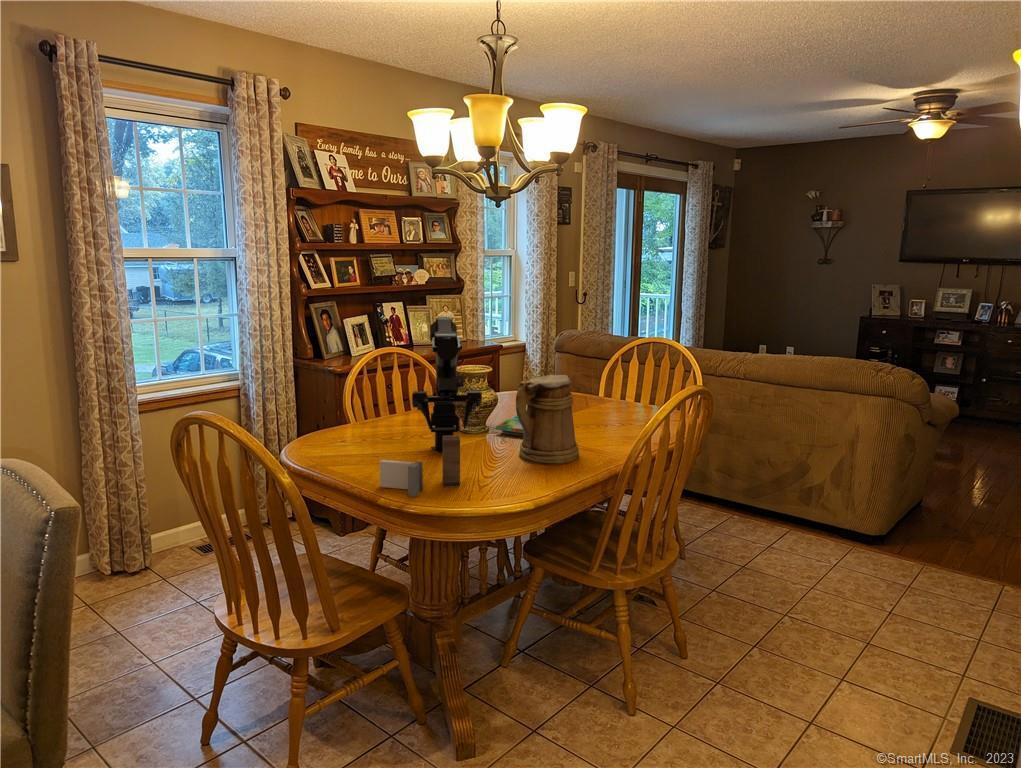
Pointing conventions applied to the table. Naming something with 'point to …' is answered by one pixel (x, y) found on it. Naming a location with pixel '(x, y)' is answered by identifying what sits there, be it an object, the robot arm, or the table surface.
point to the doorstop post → (451, 461)
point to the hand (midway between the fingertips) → (447, 428)
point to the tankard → (546, 420)
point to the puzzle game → (511, 426)
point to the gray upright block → (413, 480)
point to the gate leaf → (397, 474)
